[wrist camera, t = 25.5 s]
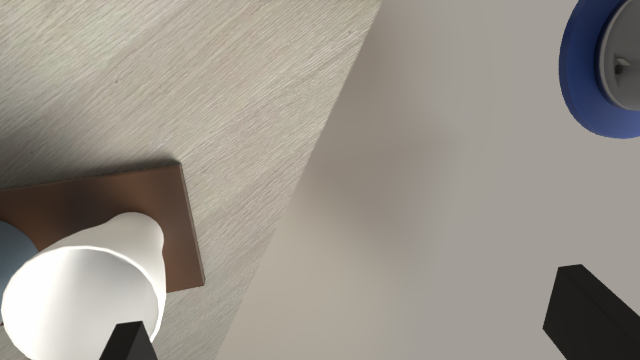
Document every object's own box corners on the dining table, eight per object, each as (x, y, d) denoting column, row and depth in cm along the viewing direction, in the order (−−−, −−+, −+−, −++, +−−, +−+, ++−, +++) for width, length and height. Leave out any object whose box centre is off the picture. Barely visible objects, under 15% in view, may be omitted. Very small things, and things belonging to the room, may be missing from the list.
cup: (136, 170, 38) (86, 214, 26) (206, 243, 42) (192, 314, 29) (54, 234, 38) (-38, 310, 26) (130, 301, 42) (83, 399, 29)
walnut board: (181, 163, 41) (179, 166, 39) (205, 279, 44) (204, 285, 43) (-244, 223, 34) (-265, 229, 33) (-174, 352, 38) (-190, 363, 37)
